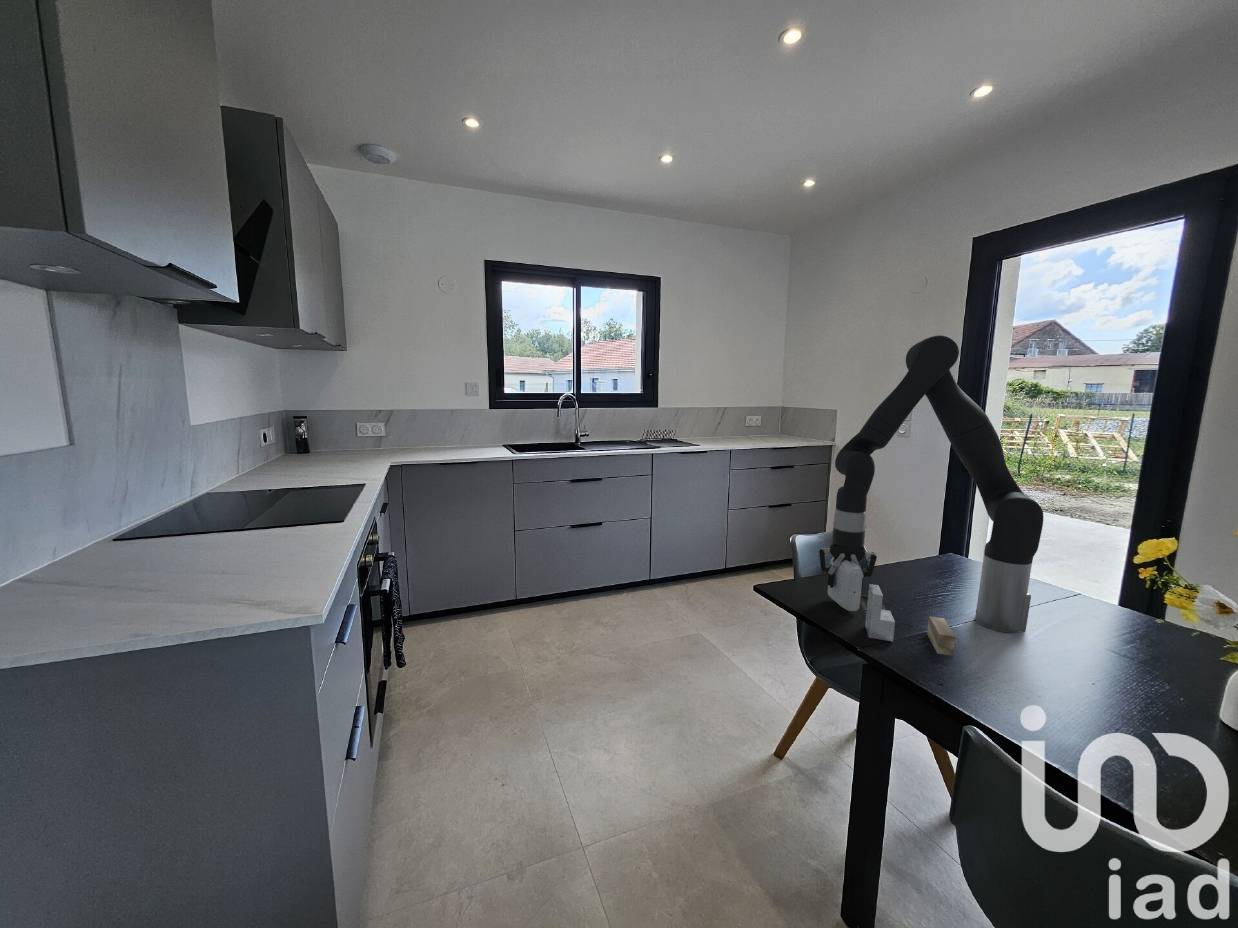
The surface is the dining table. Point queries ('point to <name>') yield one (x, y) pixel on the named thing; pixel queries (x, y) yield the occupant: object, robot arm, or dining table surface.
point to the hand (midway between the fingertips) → (844, 588)
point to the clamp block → (941, 636)
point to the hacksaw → (866, 606)
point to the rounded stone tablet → (847, 585)
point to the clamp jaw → (878, 616)
